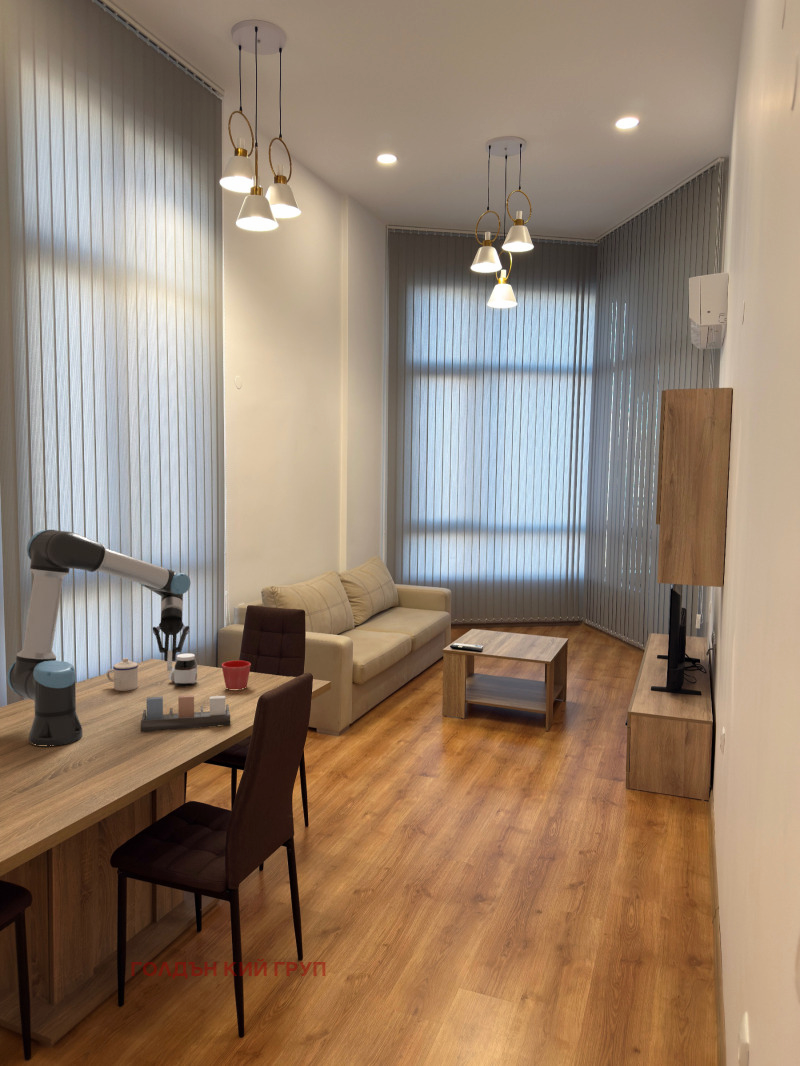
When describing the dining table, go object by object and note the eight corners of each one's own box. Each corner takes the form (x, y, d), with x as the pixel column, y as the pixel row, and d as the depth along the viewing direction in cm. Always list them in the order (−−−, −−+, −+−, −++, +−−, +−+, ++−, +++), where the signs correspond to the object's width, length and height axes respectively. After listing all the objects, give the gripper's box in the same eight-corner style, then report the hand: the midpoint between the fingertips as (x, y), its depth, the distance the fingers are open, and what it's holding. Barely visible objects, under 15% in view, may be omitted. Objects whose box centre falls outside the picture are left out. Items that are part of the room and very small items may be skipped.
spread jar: (191, 688, 291) (190, 658, 290) (162, 687, 292) (162, 658, 291) (201, 680, 303) (201, 651, 302) (173, 679, 304) (173, 650, 303)
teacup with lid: (142, 685, 294) (141, 655, 294) (133, 691, 285) (132, 661, 284) (111, 684, 295) (111, 655, 294) (102, 691, 286) (101, 660, 285)
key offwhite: (209, 717, 250) (209, 696, 249) (225, 716, 251) (225, 695, 251) (209, 720, 248) (209, 698, 247) (225, 719, 249) (225, 697, 248)
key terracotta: (178, 716, 251) (178, 695, 250) (194, 715, 252) (194, 694, 252) (178, 719, 248) (178, 697, 248) (194, 717, 250) (194, 696, 249)
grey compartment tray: (143, 720, 252) (143, 710, 252) (228, 714, 260) (228, 704, 259) (140, 731, 241) (140, 721, 240) (230, 725, 248) (230, 715, 248)
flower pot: (245, 692, 286) (244, 667, 285) (217, 691, 287) (217, 666, 287) (254, 685, 296) (254, 661, 295) (228, 683, 298) (228, 659, 297)
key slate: (147, 718, 248) (146, 697, 248) (163, 717, 249) (162, 696, 249) (146, 721, 246) (146, 699, 245) (162, 720, 247) (162, 698, 246)
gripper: (190, 617, 279) (189, 673, 264) (153, 618, 275) (150, 675, 260) (190, 606, 273) (188, 662, 258) (152, 606, 270) (149, 663, 255)
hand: (169, 668), depth 259 cm, fingers closed
